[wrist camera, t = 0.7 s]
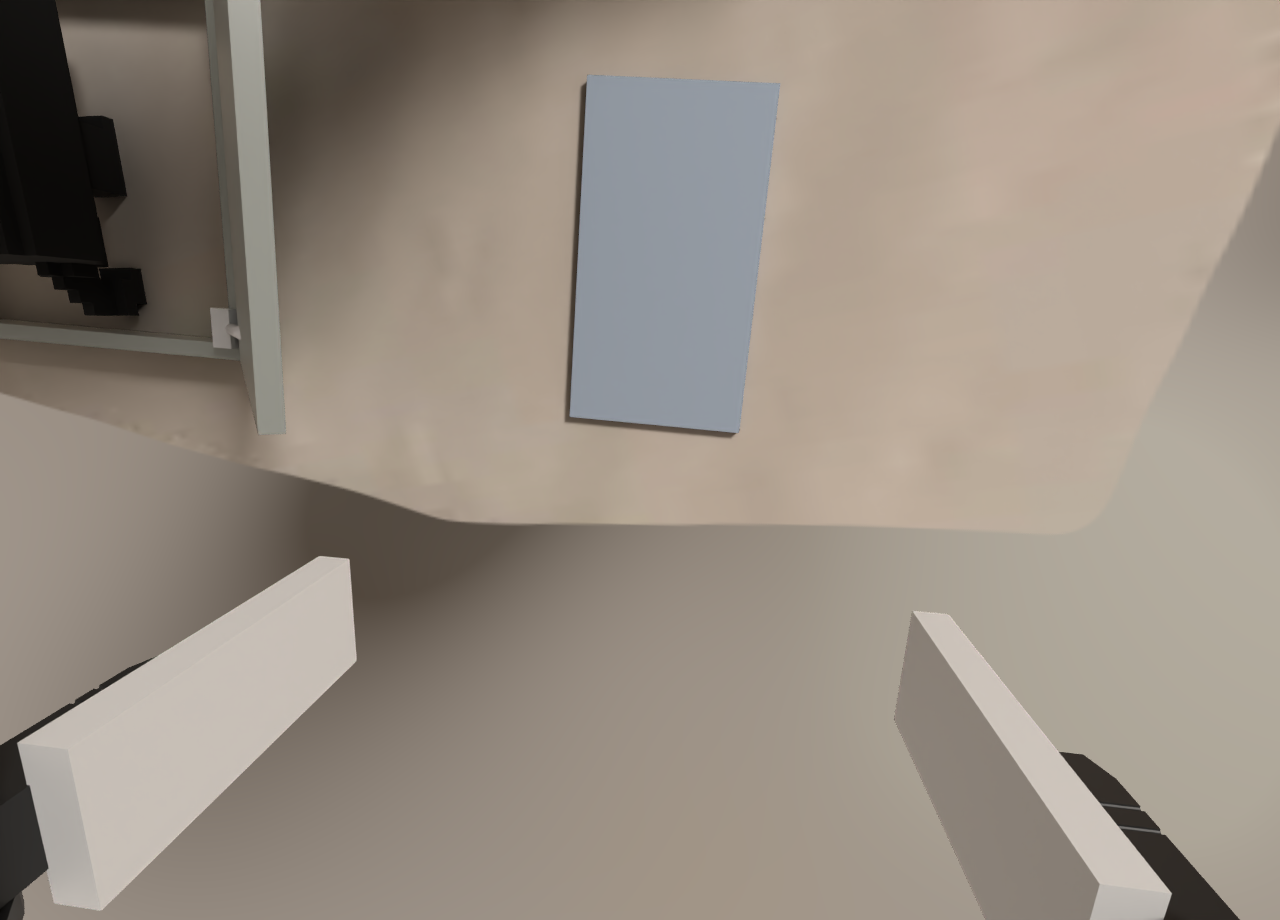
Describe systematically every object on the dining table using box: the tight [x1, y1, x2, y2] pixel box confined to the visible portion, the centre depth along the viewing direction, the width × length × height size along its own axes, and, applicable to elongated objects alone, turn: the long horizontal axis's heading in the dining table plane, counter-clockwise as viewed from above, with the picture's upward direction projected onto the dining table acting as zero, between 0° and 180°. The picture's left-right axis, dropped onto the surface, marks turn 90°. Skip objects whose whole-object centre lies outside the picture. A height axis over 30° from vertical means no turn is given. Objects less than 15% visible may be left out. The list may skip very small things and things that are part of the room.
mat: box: [570, 75, 780, 433], centre depth 37 cm, size 20×11×1 cm, turn 175°
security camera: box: [0, 0, 147, 316], centre depth 35 cm, size 7×18×10 cm, turn 0°
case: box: [0, 0, 286, 435], centre depth 29 cm, size 23×38×21 cm, turn 85°
